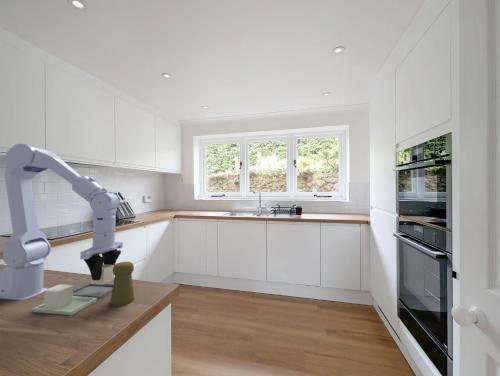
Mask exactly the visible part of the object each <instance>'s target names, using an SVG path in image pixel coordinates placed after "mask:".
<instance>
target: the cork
mask: <svg viewBox="0 0 500 376" xmlns="http://www.w3.org/2000/svg"><path fill="white" fill-rule="evenodd" d="M134 270H135V266H134V264H133V262H132V261H120V262H118V263H117V262H116V263H115V265H114V267H113V274H114V280H113V283H112V284H113V290H112V293H111V295H110V296H111V297H110V302H109V303H110V304H109V305H111V306H113V307H115V306H116V307H119V306H120V307H121V306H126V305H129V304H131V303H133V302H134V301H135V294H134V293H135V291H134V286H133V276H132V275H133V272H134Z"/></svg>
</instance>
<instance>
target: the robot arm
mask: <svg viewBox="0 0 500 376" xmlns="http://www.w3.org/2000/svg"><path fill="white" fill-rule="evenodd" d="M5 158H6V166H5V167H6V168H5V171H4V181H5V186H6V195H7V201H8V208H9V213H10V214H9V215H10V220H11V227H12V228H11V229H12V235H11V236H10V237H9V238H8V239H6V241H5V242H4V250H3V254H2V260H3V262H4V264H5V265H7V266H6V267H4V269H3V270H2V271H1V273H0V299H3V300H4V299H6V300H16V301H17V300H18V301H24V300H27V299H30V298H33V297H35V296H38V295H40V294H44V290H47V289H49V288H50V287H44V274H45V273H44V269H45V268H44V267H45V261H46V258H47V257H48V256H49V255H50V253H51V252H52V250H51V249H52V247H51V243H50V242H49V241H48V239H47V235H46V233H44V232H43V231H41V230H40V229H39V223H38V217H37V212H36V211H37V210H36V204H35V198H34V191H33V190H34V189H33V185H32V184H33V183H32V180H33V179H34V178H35V177H36V176H38V175H39V174H41V173H43V172H45V171H47V170H50V171H52V172H53V173H55V174H56V175H58V176H59V177H61V179H63V180H65V181H67V182H68V183H70V184H71V189H72V191H74V192H75V194H77V195H79V196H80V197H81V198H83V199H84V200H85V201H86V202H88V203H89V206H90V209H91V210H92V212H93V225H92V228H93V230H92V246H91V247H89V248H88V249H85V250H83V251H80V254H79V255H80V258H79V259H80V260H83V261H84V262H85V264H86V265H87V267H88V269H89V272H90V278H91V277H92V280H100V278H101V273H102V266H103V264H106V265H115V264H117V260H118V259H119V257H120V255H121V253H122V250H120V249H122V248H123V245H124V244H123V242H122V241H115V240H116V217H117V215H116V214H117V209H118V208H119V206H120V202H121V201H120V198H119V196H118V195H117V194H116V193H115V192H111V191H110V192H108V189H107V188H106V187H103V186H101V185H100V184H98V183H97V182H96V179H95V178H94V177H91V176H87V175H86V176H85V175H84V176H83V175H82V176H81V175H80V174H79V173H78V172H77V171H76V170H74V168H72V167H71V166H70V165H68V164H67V162H65V161H64V160H62V158H61V157H60V156H59V155H58V154H56V153H54V152H53V151H52V150H49V149H45V148H41V147H36V146H32V145H29V144H26V143H16V144H14V145H12V147H10V148H9V150H7V151H6V152H5Z"/></svg>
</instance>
